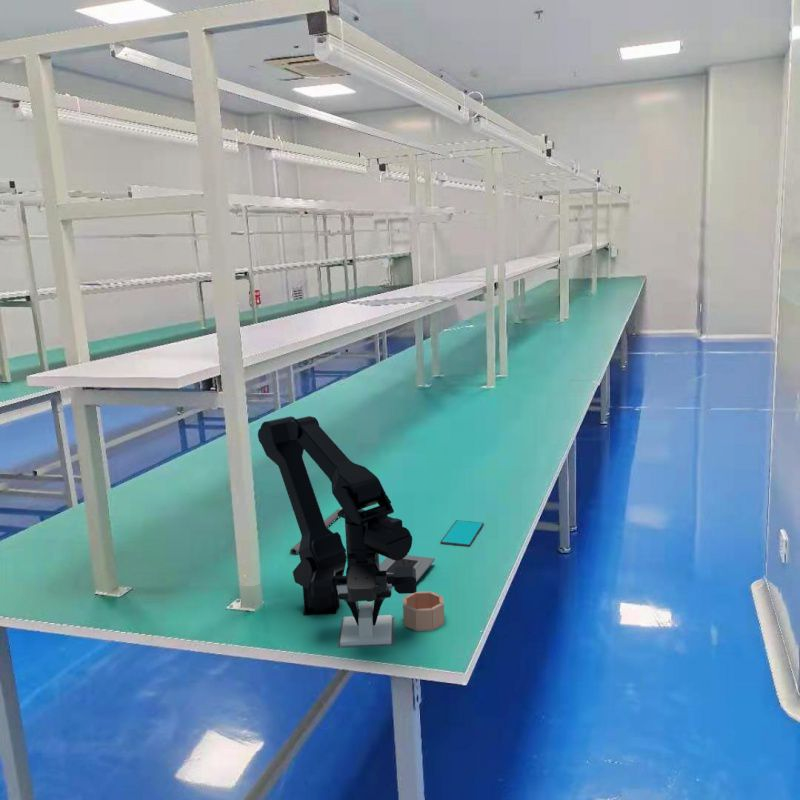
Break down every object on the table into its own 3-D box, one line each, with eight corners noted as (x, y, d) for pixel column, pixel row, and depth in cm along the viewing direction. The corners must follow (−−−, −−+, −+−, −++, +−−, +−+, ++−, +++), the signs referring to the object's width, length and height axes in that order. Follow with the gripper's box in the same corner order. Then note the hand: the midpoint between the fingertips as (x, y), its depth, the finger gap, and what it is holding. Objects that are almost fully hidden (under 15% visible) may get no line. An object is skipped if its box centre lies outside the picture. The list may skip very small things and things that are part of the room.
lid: (340, 645, 128) (339, 623, 127) (344, 620, 137) (343, 599, 136) (391, 643, 128) (390, 621, 127) (391, 618, 136) (390, 597, 136)
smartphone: (440, 542, 172) (456, 520, 186) (440, 545, 172) (456, 523, 186) (470, 545, 169) (484, 522, 183) (470, 548, 170) (484, 525, 183)
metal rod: (290, 555, 170) (289, 547, 169) (336, 515, 195) (335, 508, 194) (297, 556, 169) (297, 548, 169) (342, 516, 194) (342, 509, 194)
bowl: (404, 634, 132) (403, 611, 131) (403, 614, 139) (402, 592, 138) (445, 632, 132) (444, 609, 131) (442, 612, 139) (442, 590, 138)
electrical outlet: (414, 593, 148) (413, 582, 148) (367, 586, 152) (367, 575, 152) (435, 567, 160) (434, 557, 160) (391, 561, 164) (390, 551, 164)
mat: (337, 649, 127) (337, 647, 127) (341, 621, 137) (341, 619, 137) (394, 647, 127) (394, 645, 127) (394, 619, 137) (394, 617, 137)
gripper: (304, 565, 121) (310, 650, 124) (415, 560, 121) (418, 646, 124) (312, 539, 132) (317, 618, 135) (414, 535, 132) (417, 614, 135)
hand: (366, 624), depth 132 cm, fingers closed on lid, 2 cm apart
